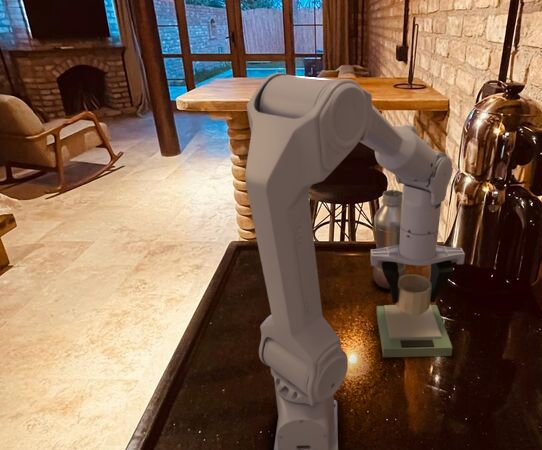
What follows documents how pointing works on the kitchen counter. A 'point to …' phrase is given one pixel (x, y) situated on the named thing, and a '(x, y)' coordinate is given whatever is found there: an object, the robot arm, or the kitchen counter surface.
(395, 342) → the scale
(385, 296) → the kitchen counter surface
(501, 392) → the kitchen counter surface
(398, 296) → the dip bowl
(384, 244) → the metal water bottle
